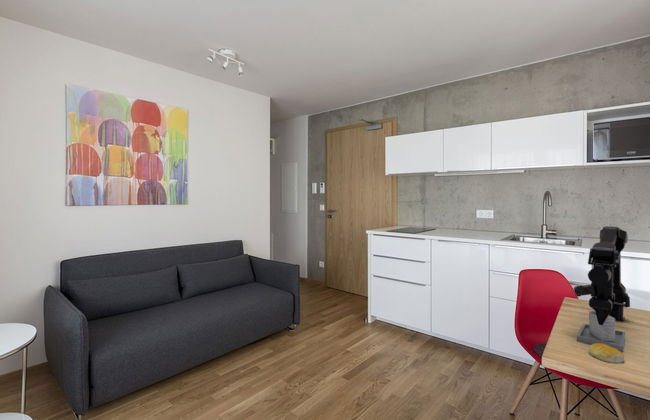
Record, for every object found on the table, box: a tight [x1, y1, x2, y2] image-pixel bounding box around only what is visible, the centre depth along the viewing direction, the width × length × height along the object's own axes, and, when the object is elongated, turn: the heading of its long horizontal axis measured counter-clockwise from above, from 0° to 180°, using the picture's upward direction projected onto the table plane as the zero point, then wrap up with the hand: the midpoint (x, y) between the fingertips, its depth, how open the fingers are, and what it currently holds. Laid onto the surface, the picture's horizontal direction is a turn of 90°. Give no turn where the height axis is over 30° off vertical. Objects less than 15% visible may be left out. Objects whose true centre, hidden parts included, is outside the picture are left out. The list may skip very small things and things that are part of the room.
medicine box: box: [588, 310, 616, 342], centre depth 122 cm, size 8×4×9 cm, turn 168°
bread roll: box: [588, 343, 625, 364], centre depth 108 cm, size 8×9×4 cm
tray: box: [576, 323, 626, 353], centre depth 122 cm, size 18×13×2 cm
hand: (601, 321), depth 122 cm, fingers open, 9 cm apart
